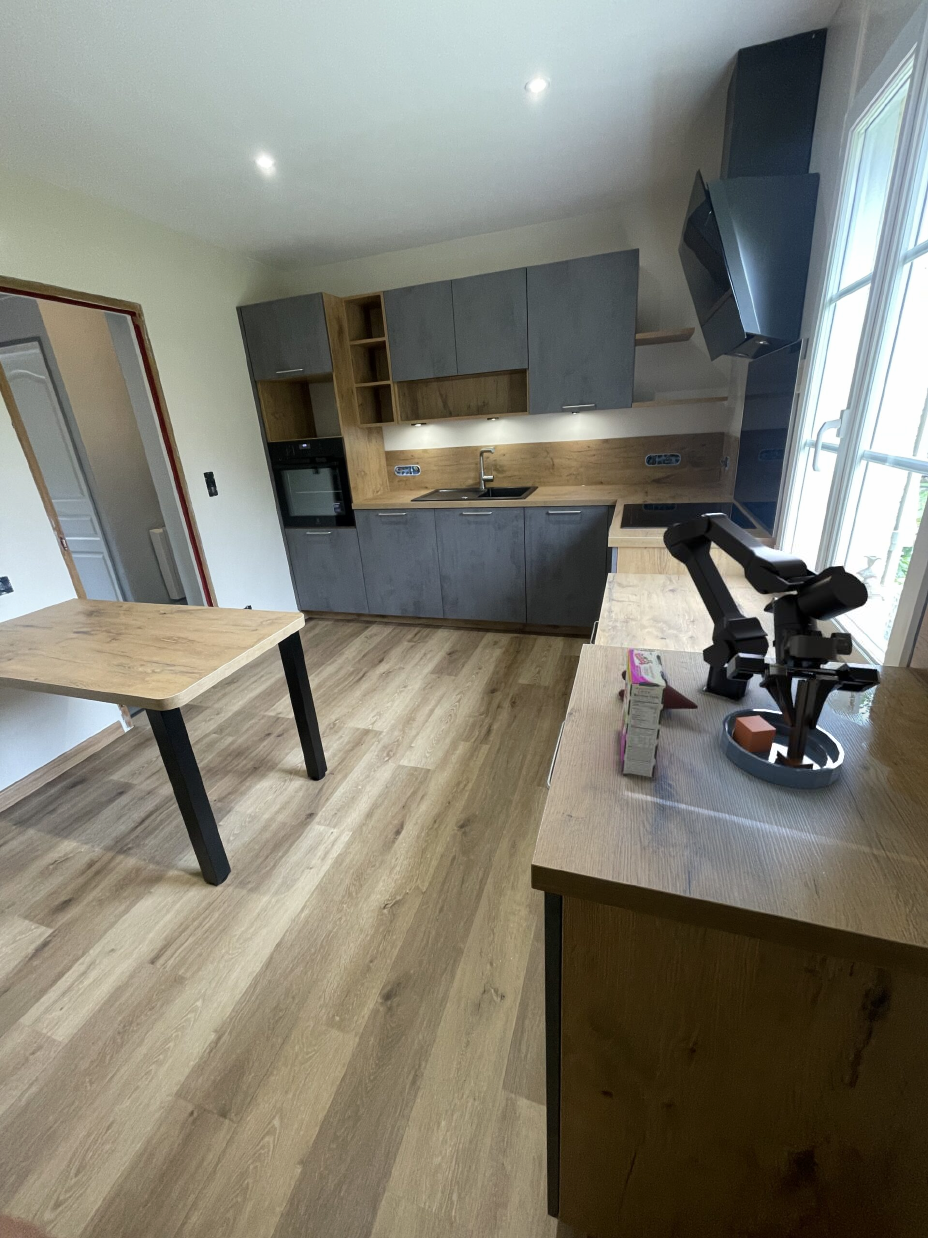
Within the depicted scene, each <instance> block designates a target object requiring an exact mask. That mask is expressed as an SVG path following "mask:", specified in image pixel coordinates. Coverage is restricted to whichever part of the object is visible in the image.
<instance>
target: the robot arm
mask: <svg viewBox="0 0 928 1238" xmlns="http://www.w3.org/2000/svg"><path fill="white" fill-rule="evenodd" d="M662 540H663V541H662V542H663V544H664V546H665V548H666V549H667V551H668V552H669V554H670V555H671V557H672V558H674V559H675V560H677V561H678V562H680V563H681V564H683V565H684V566H685V568H686V570H687V571H688V574H689V575H690V578H691V580H692V583H693V584H694V586H695V589H696V590H697V592H698V595H699V596H700V598H701V600H702V603H703V604H704V606H705V608H706V611H707V613H708V615H709V616H710V617H709V618H710V619H711V621H712V624H713V630H712V635H711V641H712V644H711V645H709V646H708V647H705V648H704V649H702V658H703V659H702V660H703V662H705V663H706V664H707V665H709V669H708V674H707V680H706V685H705V686H704V687H703V688H702V691H703V692H706V693H709V694H712V695H716V696H719V697H722V698H726V699H729V700H732V701H735V702H739V701H740V700H741V699H742V698H745V696H746V695H747V694H748V692H749V689H750V685H751V679H753V677H754V676H755V675H760V677H761V681H760V682H759V684H758V686H759V688H762V689H765V690H766V691H767V693H768V694H769V696H770V697H771V698H772V699H773V701H774V702H775V704H776V706H777V707H778V709H779V712H781V713H782V714H783V716H784V718H785V720H786V722H787V724H788V725H789V727H791V728H793V727H795V712H794V700H793V693H792V686H793V685H792V684H793V679H798V680H801V679H804V680H806V679H814V680H815V681H816V686H815V692H814V698H813V704H812V710H811V716H810V722H809V729H810V730H814V729H815V728H816V726H818V723H819V719H820V716H821V714H822V712H823V708H824V705H825V703H826V701H827V698H828V697H829V695H830V694H831V693H832V692H834V691H838V692H846V693H855V694H858V693H864V692H866V691H868V690H871V689H872V688H874V687H876V686H878V685H880V684H882V681H881V673H880V671H879V670H878V669H877V668H876V666H875V665H873V664H866V663H865V664H863V663H854V662H853V663H852V662H845V663H843V664H842V665H840V666H839V667H837V668H827V667H826V668H824V667H822V666H826V665H828V664H829V663H830V661H835V662H836V661H837V660H838V659H837V658H838V655H839V656H850V655H852V654H853V646H854V645H853V638H852V633H851V632H839V631H838V632H831V633H830V637H829V636H828V637H826V636H824V635H823V633H822V630H819V629H818V621H820V622H825V621H829V620H831V619H834V618H837V617H839V616H841V615H845V614H846V613H849V612H851V611H854V610H857V609H858V608H861V607H863V606H865V605H866V603H867V602H868V599H869V592H868V588H867V586H866V583H864V582H862V581H861V579H859V578H858V577H857V576H856V575H854V574H853V573H850V572H848V571H846V569H845V566H844V565H843V564H838V565H837V564H836V565H829V566H827V567H826V568H824V569H823V570H822V571H820V572H819V573H818V572H817V571H814V570H813V569H811V568H810V567H808V565H807V564H806V562H805V561H804V560H803V559H802V558H800V557H798V556H795V555H793V554H790V553H789V552H786V551H782V550H779V549H774V548H771V547H768V546H766V545H765V544H763V543H762V542H760V541H759V540H758V539H756V538H755V537H754V536H752V535H751V534H750V533H748V531H746V530H744V529H743V528H742V527H741V526H739V525H738V524H736V523H735V522H733V521H732V520H731V519H730V517H729V516H728V514H725V513H722V512H717V513H703V514H702V515H699V516H697V517H695V518H693V519H690V520H687V521H683V522H679V523H677V522H676V523H671V524H669V525H668V526H667V528H666V530H664V532H663V535H662ZM712 544H714V545H715V546H717V547H718V548H719V549H721V550H722V551H723V552H724V553H725V554H726V555H728V556H729V557H730V558H731V559H732V560H733V561H735V562H736V563H737V564H739V565H740V566H741V568H742V569H743V572H744V574H743V575H744V579H745V580H746V581H747V582H748V583H749V584H750V586H751V587H752V588H753V590H755V592H757V593H758V594H760V595H765V596H766V595H774V594H775V595H776V594H783V593H786V594H783V595H782V596H780V597H772V599H771V600H770V602H768V603H767V604H766V605H765V606H764V608H763V612H764V613H768V614H773V617H772V618H773V637H774V639H773V640H772V648H774V653H775V655H774V656H775V657H774V658H775V663H771V662H765V661H766V659H765V658H766V656H767V654H768V651H769V648H770V642H769V640H768V638H767V637H768V636H769V633H767V632H766V631H765V629H764V628H763V626H762V623H761V621H760V619H759V618H758V616H749V617H746V616H745V615H744V614H742V612H741V611H740V609H739V606H738V605H737V603H736V601H735V600H734V597H733V596H732V594H731V592H730V590H729V588H728V586H727V584H726V583H725V581H724V579H723V576H722V575H721V573H720V571H719V569H718V567H717V565H716V563H715V561H714V559H713V557H712V556H711V550H712ZM792 592H796V593H792Z"/></svg>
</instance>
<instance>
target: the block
mask: <svg viewBox="0 0 928 1238" xmlns="http://www.w3.org/2000/svg"><path fill="white" fill-rule="evenodd" d="M775 732H776V729H775V728H774V727H773V726H771V725H770V724H769V723H768V722H766V721H765V720H764V719H763V718H761V717H760V716H750V717H741V718H736V723H735V728H734V732H733V739H734V740H735V741H736V742H737V743H738V744H739V745H740V746H741V747H743V748H744V749H745V750H746V751H748V752H749V753H751V752H759V751H768V750H771V748H772V744H773V740H774V736H775Z"/></svg>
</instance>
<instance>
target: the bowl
mask: <svg viewBox="0 0 928 1238" xmlns="http://www.w3.org/2000/svg"><path fill="white" fill-rule="evenodd" d="M750 716H760V717H761V718H763V719H764V720H765V721H766V722H768V723H769V724H770V725H771V726H773V727H774V728H775V729H776V732H775V736H774V740H773V744H772V748H771V750H768V751H759V752H751V753H749V752H748V751H746V750H745V749H744V748H743V747H741V746H740V745H739V744H738V743H737V742H736V741H735V740H734V739H733V732H734V728H735V723H736V718H741V717H750ZM790 729H791V727H789V725H788V724H787V722H786V720H785V718H784V716H783V714H782V713H781V711H778V710H777V711H776V710H771V709H760V708H759V709H758V708H747V709H740V710H736V711H733V712H731V713H728V714H727V715H726V716H725V717H724V719H723V720H722V721H721V725H720V730H719V734H718V742H719V748H720V749H721V751H722V753H723V754H724V756H725V757H726V758H727V759H728V760H730V761H731V762H732V763H733V764H734V765H736V767H738V768H740V769H741V770H743V771H744V772H746V773H748V774H750V775H751V776H754V777H756V778H759V779H761V780H764V781H766V782H769V783H771V784H774V785H780V786H782V787H783V786H784V787H787V788H788V787H789V788H793V789H808V790H809V789H811V790H812V789H819V788H823V787H828V786H829V785H831V784H833V783H834V782H836V781H837V780H838V778H839V775H840V772H841V769H842V766H843V763H844V759H845V756H846V755H845V754H846V753H845V752H844V749H843V746H842V745H841V743H840V742H839V741H838V740H837V739H836V738H835V737H834V736H833V735H832V734H831V733H829V732H828V731H826V730H825V729H824V728H821V727H820V726H819V725H817V726H816V728H815V729H814V730H810V729H809V728H808V734H807V740H806V746H805V752H804V756H806V757H807V758H808V759H809V760H810V761H812V762H813V763H814V766H813V769H796V768H792V767H787V766H786V765H785V764H784V763H783V762H782V761H781V760H780V759H779V758H778V757H776V754H777V750H781V749H788V742H789V736H790Z"/></svg>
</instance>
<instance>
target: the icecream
mask: <svg viewBox="0 0 928 1238" xmlns="http://www.w3.org/2000/svg"><path fill="white" fill-rule="evenodd" d="M626 670H627V669H624V670H623V671H622V672H621V678H622V680H623V681H624V682H625V681H626ZM664 679H665V684H666V688H665V695H664V702H663V710H697V709H698V707H699V706H698V705H697V704H696V703H695V702H694V701H692V700H691V699H689V698H688V697H687V696H685V695H684V694H682V693H681V692H679V691H678V690H677V689H675V688H674V687H673V686H672V685H669V682H668V680H667V678H665V677H664ZM624 692H625V688H621V689H620V690H619V691H618V694H617V695H618V697H620V699H623V700H624Z"/></svg>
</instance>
